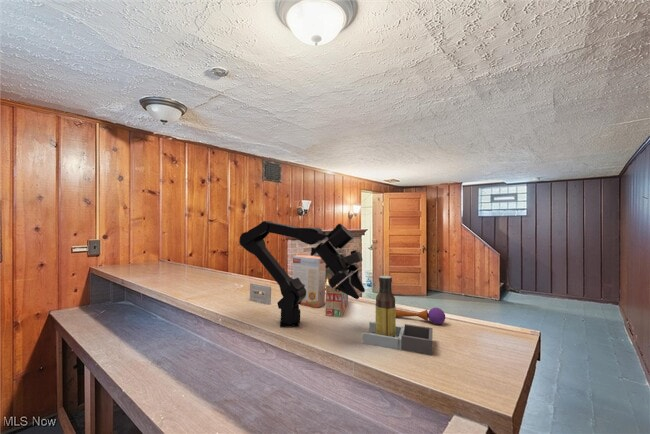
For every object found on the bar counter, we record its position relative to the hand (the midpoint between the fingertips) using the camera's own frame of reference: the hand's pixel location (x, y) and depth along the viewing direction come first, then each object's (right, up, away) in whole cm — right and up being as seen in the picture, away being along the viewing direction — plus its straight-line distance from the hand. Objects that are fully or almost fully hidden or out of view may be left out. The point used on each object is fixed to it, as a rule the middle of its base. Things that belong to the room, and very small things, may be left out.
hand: (361, 295), depth 97 cm
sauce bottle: (+7, -14, -3) cm, 16 cm away
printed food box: (-7, -13, +28) cm, 31 cm away
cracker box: (-19, -13, +33) cm, 40 cm away
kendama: (+23, -14, +16) cm, 31 cm away
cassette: (-40, -12, +34) cm, 54 cm away
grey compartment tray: (+11, -13, -5) cm, 18 cm away
